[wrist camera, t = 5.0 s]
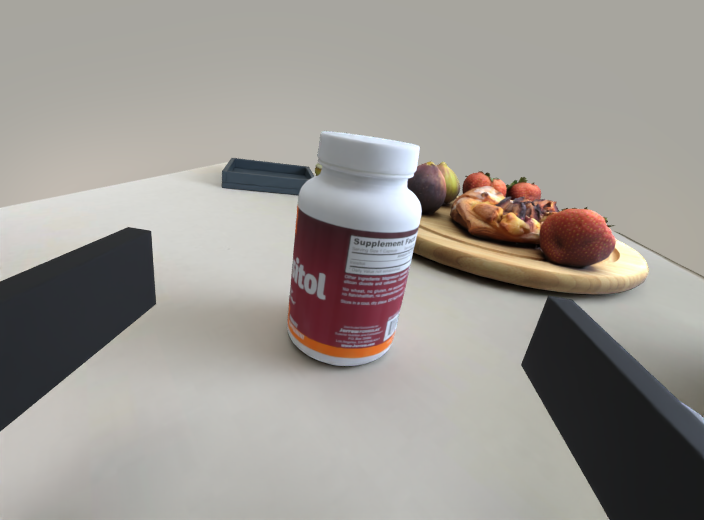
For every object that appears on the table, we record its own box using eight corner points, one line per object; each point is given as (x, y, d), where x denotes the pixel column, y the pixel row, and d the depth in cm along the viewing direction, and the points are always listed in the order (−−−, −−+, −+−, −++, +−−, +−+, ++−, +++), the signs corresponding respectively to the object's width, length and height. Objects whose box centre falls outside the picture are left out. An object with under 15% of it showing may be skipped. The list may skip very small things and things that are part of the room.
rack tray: (221, 187, 50) (222, 171, 49) (231, 171, 62) (231, 157, 61) (315, 196, 53) (317, 181, 52) (307, 179, 65) (308, 166, 64)
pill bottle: (277, 311, 22) (291, 124, 18) (367, 305, 25) (397, 138, 21) (299, 379, 17) (326, 137, 13) (411, 363, 19) (464, 154, 15)
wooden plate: (730, 329, 30) (789, 236, 27) (353, 265, 31) (369, 168, 28) (559, 225, 60) (577, 175, 57) (369, 194, 61) (378, 143, 58)
